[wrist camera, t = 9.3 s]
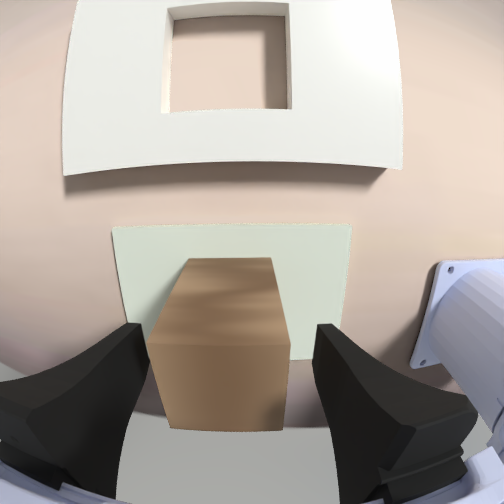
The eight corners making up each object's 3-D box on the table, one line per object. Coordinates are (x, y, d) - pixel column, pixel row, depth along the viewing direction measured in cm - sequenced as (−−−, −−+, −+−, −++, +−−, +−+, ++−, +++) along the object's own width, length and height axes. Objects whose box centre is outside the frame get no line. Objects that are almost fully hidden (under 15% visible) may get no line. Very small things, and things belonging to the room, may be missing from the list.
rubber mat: (349, 223, 14) (352, 225, 14) (332, 353, 17) (334, 357, 16) (114, 226, 14) (111, 228, 14) (138, 352, 17) (136, 356, 16)
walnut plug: (271, 257, 14) (290, 343, 8) (269, 327, 15) (282, 430, 9) (189, 258, 14) (145, 342, 8) (195, 327, 15) (170, 428, 9)
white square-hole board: (377, 0, 10) (387, -11, 9) (388, 167, 13) (402, 169, 12) (89, 10, 10) (77, 1, 8) (78, 173, 13) (63, 176, 12)
